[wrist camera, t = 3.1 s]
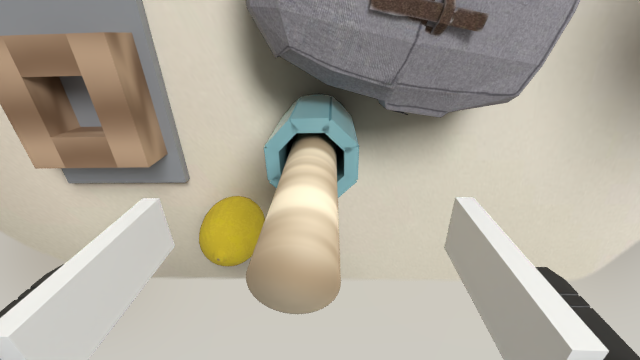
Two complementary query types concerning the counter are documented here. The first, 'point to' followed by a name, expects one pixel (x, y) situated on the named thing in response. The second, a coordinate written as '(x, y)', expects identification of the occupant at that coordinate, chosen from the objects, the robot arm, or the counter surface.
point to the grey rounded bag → (417, 47)
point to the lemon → (231, 231)
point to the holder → (56, 111)
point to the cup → (315, 118)
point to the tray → (84, 17)
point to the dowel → (300, 232)
